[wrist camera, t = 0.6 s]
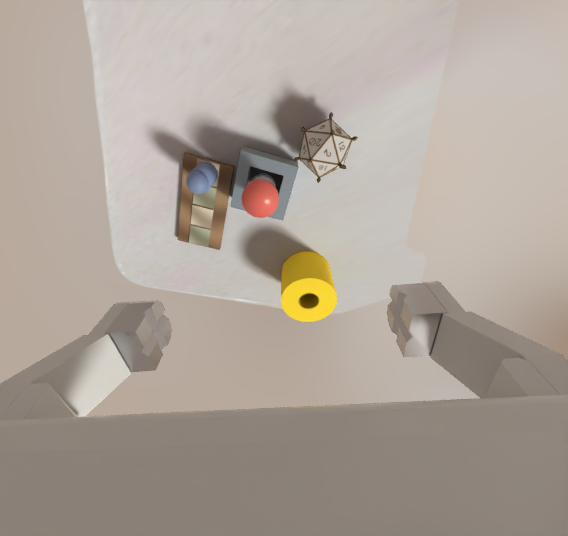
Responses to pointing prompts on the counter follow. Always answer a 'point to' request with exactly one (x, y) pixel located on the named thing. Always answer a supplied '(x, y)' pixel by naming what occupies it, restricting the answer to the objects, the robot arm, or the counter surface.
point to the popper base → (266, 163)
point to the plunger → (260, 196)
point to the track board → (204, 206)
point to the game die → (324, 147)
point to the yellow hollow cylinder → (307, 287)
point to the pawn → (201, 178)
